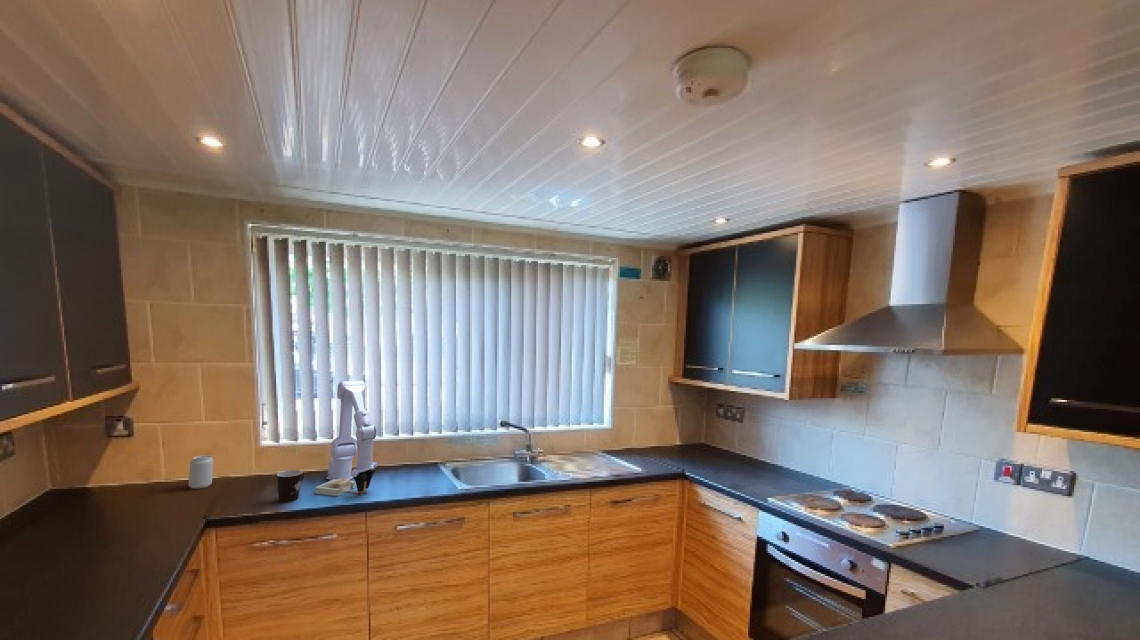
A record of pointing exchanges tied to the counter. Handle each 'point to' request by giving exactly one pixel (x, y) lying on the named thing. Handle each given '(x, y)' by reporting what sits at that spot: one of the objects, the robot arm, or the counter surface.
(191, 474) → the can
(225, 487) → the counter surface
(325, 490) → the lane
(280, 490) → the coffee mug
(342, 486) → the wooden toy mallet
